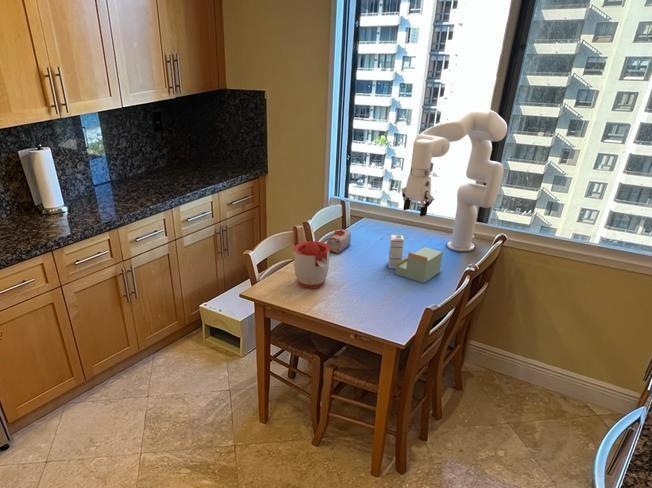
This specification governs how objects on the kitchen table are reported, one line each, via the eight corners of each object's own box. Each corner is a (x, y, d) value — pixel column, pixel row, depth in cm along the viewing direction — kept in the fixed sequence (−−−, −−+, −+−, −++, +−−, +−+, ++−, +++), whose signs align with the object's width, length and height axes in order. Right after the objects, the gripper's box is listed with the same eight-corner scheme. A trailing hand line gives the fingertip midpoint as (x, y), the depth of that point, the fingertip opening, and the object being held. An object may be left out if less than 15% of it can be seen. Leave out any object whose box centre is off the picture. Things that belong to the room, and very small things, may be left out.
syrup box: (401, 268, 237) (404, 239, 229) (388, 268, 238) (391, 239, 230) (400, 263, 242) (404, 234, 234) (387, 263, 243) (390, 234, 235)
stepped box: (411, 264, 241) (415, 240, 234) (439, 272, 232) (443, 247, 226) (395, 274, 233) (398, 249, 226) (423, 282, 224) (427, 257, 218)
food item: (339, 255, 254) (340, 236, 248) (325, 252, 258) (325, 233, 252) (351, 245, 263) (352, 227, 258) (337, 243, 267) (338, 225, 262)
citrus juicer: (308, 295, 219) (309, 252, 208) (287, 280, 232) (286, 239, 222) (338, 286, 225) (340, 244, 214) (315, 272, 238) (316, 231, 227)
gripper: (442, 174, 203) (436, 216, 212) (411, 166, 216) (406, 205, 225) (429, 178, 200) (423, 220, 209) (398, 169, 213) (393, 209, 222)
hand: (414, 212), depth 217 cm, fingers open, 9 cm apart
